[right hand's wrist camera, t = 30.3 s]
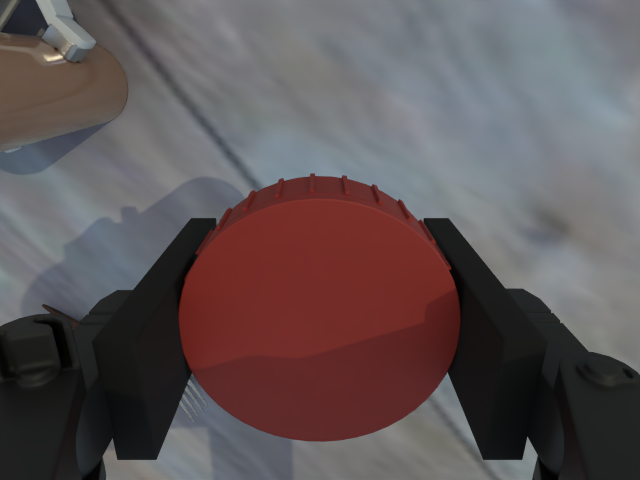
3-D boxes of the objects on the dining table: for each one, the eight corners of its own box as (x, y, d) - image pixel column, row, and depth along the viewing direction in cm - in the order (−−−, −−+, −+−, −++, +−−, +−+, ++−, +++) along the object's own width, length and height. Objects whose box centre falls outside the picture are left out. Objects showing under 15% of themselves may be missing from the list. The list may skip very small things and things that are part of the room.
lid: (338, 114, 10) (342, 125, 9) (490, 307, 12) (520, 350, 10) (144, 278, 12) (113, 317, 10) (305, 428, 14) (303, 483, 12)
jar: (105, 140, 33) (-92, 210, 17) (33, 91, 32) (-248, 120, 16) (142, 75, 32) (-36, 88, 16) (68, 21, 30) (-206, -24, 14)
